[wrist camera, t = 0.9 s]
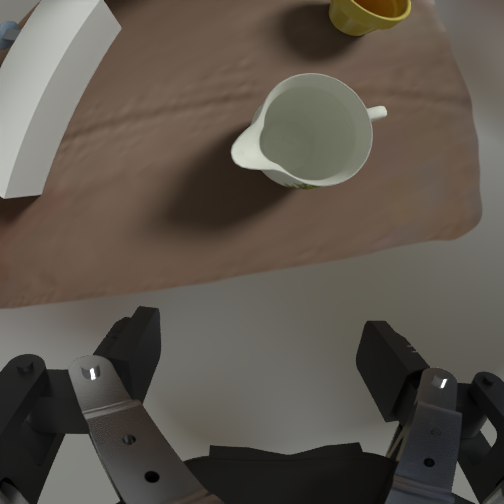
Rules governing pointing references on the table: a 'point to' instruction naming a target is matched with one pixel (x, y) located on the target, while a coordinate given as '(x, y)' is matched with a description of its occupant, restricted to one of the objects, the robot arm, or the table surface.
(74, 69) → the key box
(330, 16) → the plant pot
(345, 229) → the table surface
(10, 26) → the blue key
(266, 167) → the pitcher
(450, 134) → the table surface
